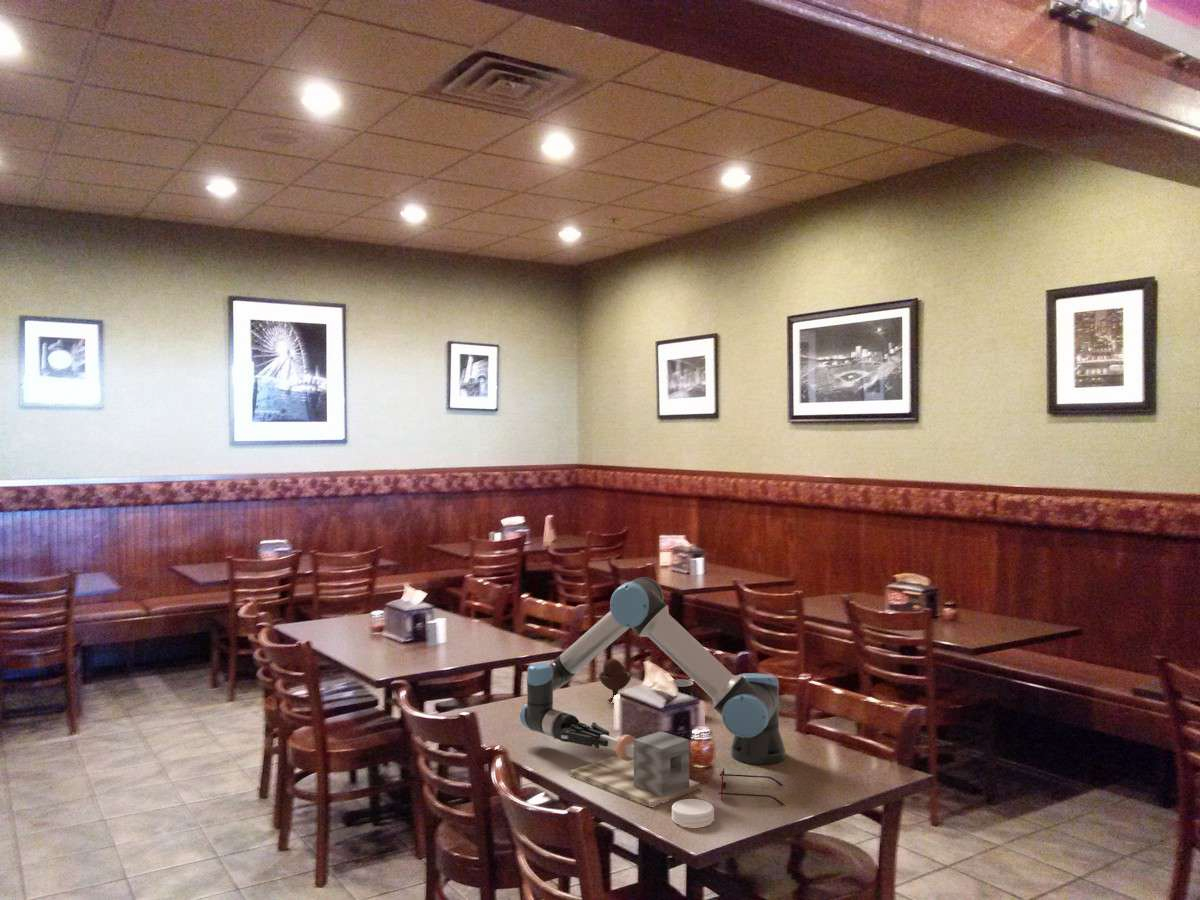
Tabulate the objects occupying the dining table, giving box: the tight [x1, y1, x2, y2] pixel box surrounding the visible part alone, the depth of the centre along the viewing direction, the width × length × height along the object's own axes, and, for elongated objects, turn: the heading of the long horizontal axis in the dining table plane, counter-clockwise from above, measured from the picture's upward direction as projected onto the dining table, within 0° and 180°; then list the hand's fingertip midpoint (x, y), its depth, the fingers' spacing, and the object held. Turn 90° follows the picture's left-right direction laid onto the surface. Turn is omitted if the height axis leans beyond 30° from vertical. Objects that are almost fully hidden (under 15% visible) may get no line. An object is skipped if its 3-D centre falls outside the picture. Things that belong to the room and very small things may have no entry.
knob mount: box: [570, 730, 701, 808], centre depth 241 cm, size 30×18×14 cm, turn 43°
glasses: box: [717, 767, 785, 806], centre depth 233 cm, size 14×16×5 cm
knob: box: [615, 734, 637, 761], centre depth 238 cm, size 14×6×6 cm, turn 43°
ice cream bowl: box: [598, 658, 632, 704], centre depth 316 cm, size 11×11×15 cm
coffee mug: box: [673, 679, 694, 697], centre depth 304 cm, size 12×9×10 cm
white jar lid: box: [671, 798, 715, 827], centre depth 217 cm, size 10×10×4 cm
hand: (618, 745), depth 245 cm, fingers closed
